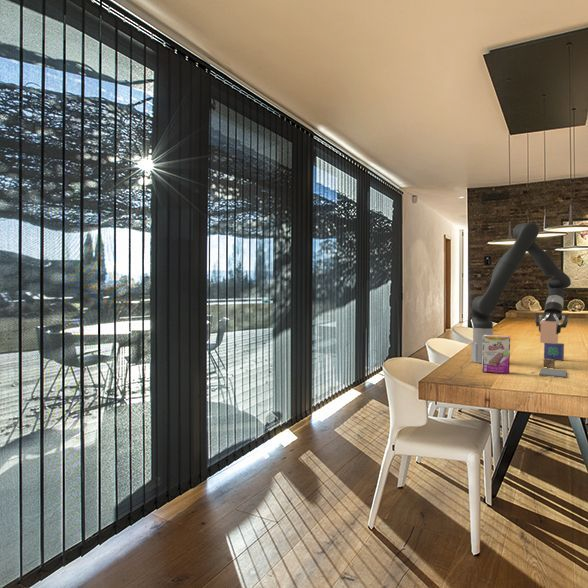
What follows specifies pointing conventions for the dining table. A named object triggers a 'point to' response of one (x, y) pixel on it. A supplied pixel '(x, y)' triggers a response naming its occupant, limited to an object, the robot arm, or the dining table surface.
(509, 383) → the dining table surface
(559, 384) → the dining table surface
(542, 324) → the pinkish tan block
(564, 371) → the rubber mat
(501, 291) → the robot arm
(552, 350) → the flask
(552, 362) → the letter cube
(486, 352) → the candy bar box
